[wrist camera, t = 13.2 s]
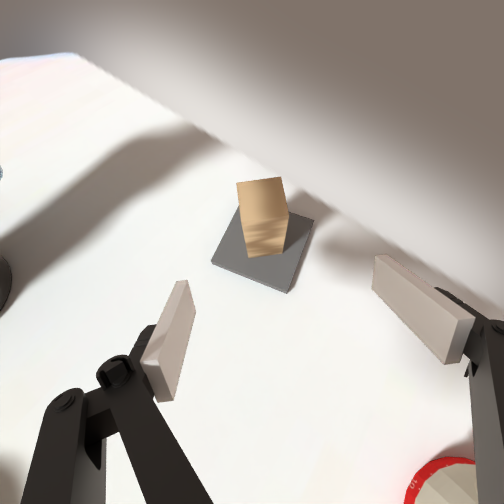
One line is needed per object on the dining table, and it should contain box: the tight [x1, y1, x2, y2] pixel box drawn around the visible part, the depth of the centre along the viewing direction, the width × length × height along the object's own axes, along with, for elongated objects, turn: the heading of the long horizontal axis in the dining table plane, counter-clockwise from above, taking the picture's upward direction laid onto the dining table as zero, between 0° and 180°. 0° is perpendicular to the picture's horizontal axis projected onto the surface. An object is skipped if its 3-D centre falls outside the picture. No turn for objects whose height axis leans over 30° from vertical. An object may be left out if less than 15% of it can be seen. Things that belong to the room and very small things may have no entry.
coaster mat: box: [211, 206, 314, 294], centre depth 36 cm, size 12×12×2 cm
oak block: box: [236, 177, 289, 258], centre depth 30 cm, size 5×5×11 cm
